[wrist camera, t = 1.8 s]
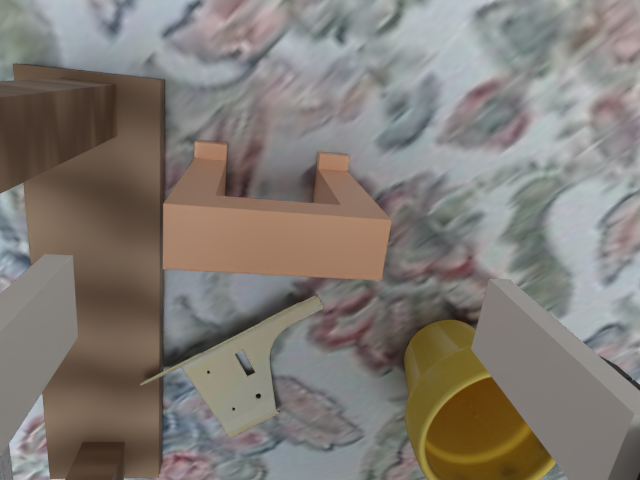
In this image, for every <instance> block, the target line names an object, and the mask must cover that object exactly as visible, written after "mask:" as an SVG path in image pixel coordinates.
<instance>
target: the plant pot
mask: <svg viewBox="0 0 640 480" xmlns="http://www.w3.org/2000/svg"><path fill="white" fill-rule="evenodd" d="M475 332H476V329H475V328H473V327H472V326H470V325H468V324H466V323H464V322H461V321H457V320H440V321H436V322H434V323H431V324H429V325H427V326H425V327H423V328H422V329H421V330H419V331H418V332H417V333H416V334H415V335H414V336H413V338H412V339H411V340H410V342H409V344H408V346H407V348H406V351H405V356H404V365H405V373H406V379H407V386H408V395H409V398H408V401H407V405H406V410H405V424H406V429H407V433H408V436H409V439H410V442H411V445H412V448H413V451H414V453H415V456H416V458H417V460H418V463H419V465H420V468H421V470H422V472H423V473H424V475H425V477H426V478H427V479H428V480H540V479H541V478H542V477H543V476H544V475H546V474H547V473H548V472H549V471H550V470H551V469H552V467H553V466H554V465H555V464H556V462H555V460H554V459H553V458H552V456H551V455H550V454H549V452H548V451H547V450H546V448H545V447H544V446H543V444H542V443H541V442H540V440H539V439H538V438H537V436H536V435H535V434H534V432H533V431H532V430H531V428H530V427H529V426H528V424H527V423H526V422H525V420H524V419H523V418H522V416H521V415H520V414H519V412H518V411H517V410H516V408H515V407H514V406H513V404H512V403H511V402H510V400H509V399H508V398H507V396H506V395H505V394H504V392H503V391H502V390H501V388H500V387H499V386H498V384H497V383H496V382H495V380H494V379H493V378H492V376H491V375H490V374H489V372H488V371H487V370H486V368H485V367H484V366H483V364H482V363H481V362H480V360H479V359H478V358H477V356H476V355H475V354H474V352H473V351H472V350H471V347H472V344H473V340H474V336H475Z"/></svg>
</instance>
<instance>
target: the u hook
mask: <svg viewBox="0 0 640 480" xmlns="http://www.w3.org/2000/svg"><path fill="white" fill-rule="evenodd" d="M227 148H228V143H224V142H214V141H203V140H196V141H195V148H194V159H193V160H192V162H191V163H190V165H189V166H188V168H187V169H186V171H185V172H184V174H183V175H182V177H181V178H180V180H179V181H178V183H177V184H176V186H175V187H174V188H173V190H172V191H171V193H170V194H169V196H168V197H167V199H166V200H165V202H164V203H163V269H170V270H189V271H209V272H228V273H247V274H266V275H285V276H304V277H324V278H343V279H362V280H381V281H382V275H383V269H384V263H385V257H386V251H387V245H388V239H389V233H390V227H391V221H392V220H391V219H390V218H389V217H388V216H387V214H386V213H385V212H384V211H383V210H382V209H381V208H380V207H379V206H378V205H377V203H376V202H375V201H374V200H373V199H372V198H371V197H370V196H369V195H368V193H367V192H366V191H365V190H364V189H363V188H362V187H361V186H360V185H359V183H358V182H357V181H356V180H355V179H354V178H353V177H352V176H351V175H350V174H349V172H348V165H349V158H350V156H348V155H347V154H341V153H330V152H320V151H318V156H317V165H316V174H315V183H314V192H313V201H312V203H307V202H294V201H281V200H268V199H255V198H242V197H229V196H225V188H226V168H227Z"/></svg>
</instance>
